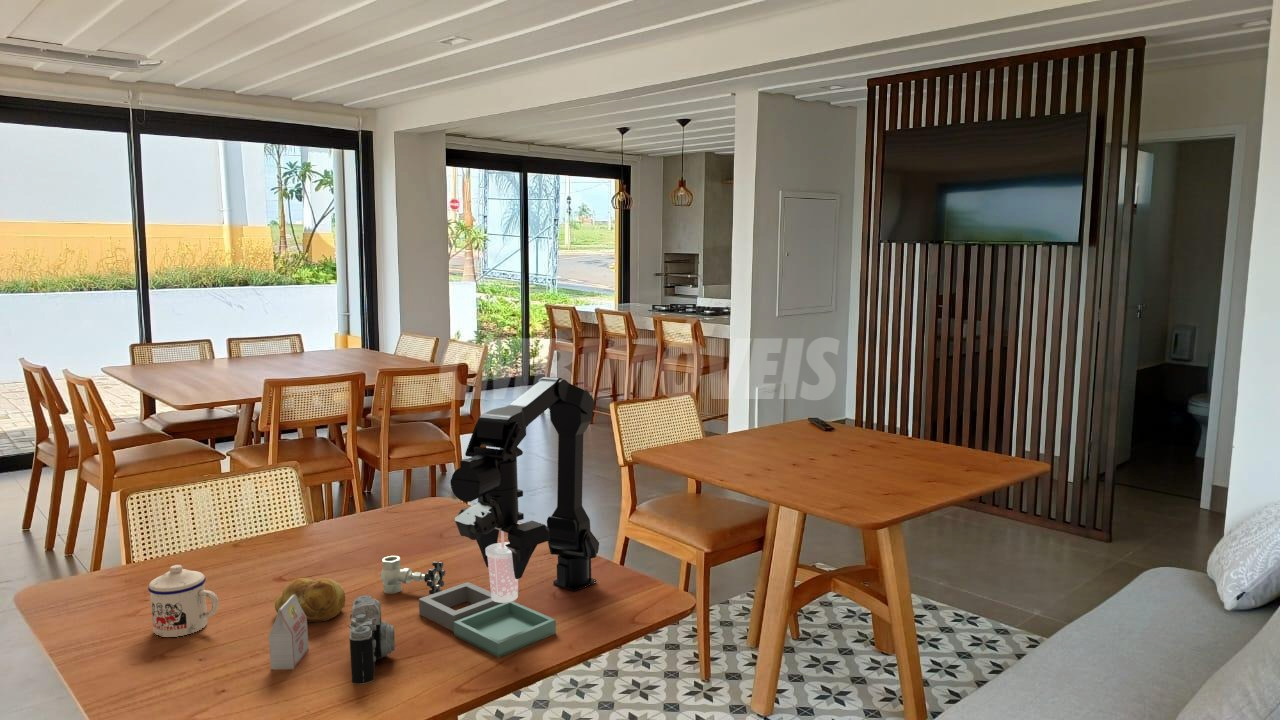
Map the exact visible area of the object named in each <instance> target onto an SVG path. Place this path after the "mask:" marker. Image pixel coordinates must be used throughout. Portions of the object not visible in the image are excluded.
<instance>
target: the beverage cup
mask: <svg viewBox="0 0 1280 720" xmlns="http://www.w3.org/2000/svg"><path fill="white" fill-rule="evenodd" d="M500 537H501V538H500V539H501V542H497V543H495V544H492V545H489V546H487V547H486V548H485V551H486V556H487V558H488V567H487V568H488V574H489V585H490V592H491V598H492V600H493V601H494V602H498V603H506V602H511V601H513V602H515V601H516V600H517V599H518V597H519V579H515V575H514V569H513V559H512V552H511V550H509V549H508V548H507V547H506V546H505V545H506V544H509V543H510V542H509V541H508V542H506V541H505V532H504V531H501V530H500Z"/></svg>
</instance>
